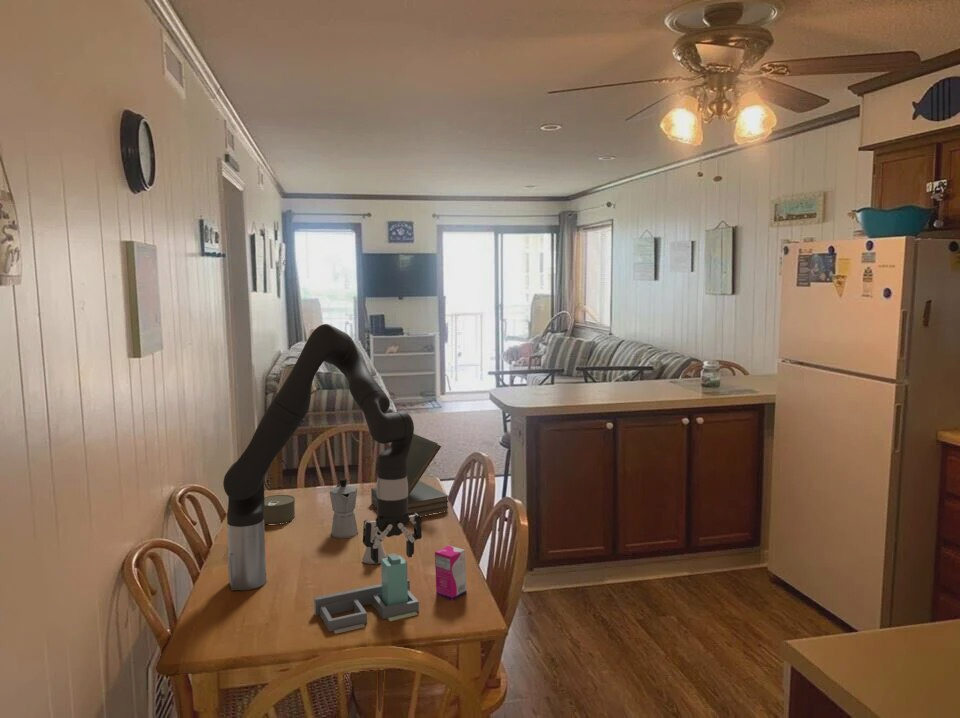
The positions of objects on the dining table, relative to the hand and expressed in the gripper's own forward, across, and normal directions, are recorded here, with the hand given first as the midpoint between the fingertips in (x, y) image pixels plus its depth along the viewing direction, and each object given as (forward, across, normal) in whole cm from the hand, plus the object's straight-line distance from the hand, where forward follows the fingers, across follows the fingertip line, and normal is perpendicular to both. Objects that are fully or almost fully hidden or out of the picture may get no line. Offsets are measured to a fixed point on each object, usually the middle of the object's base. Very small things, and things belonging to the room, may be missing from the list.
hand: (392, 559), depth 167 cm
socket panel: (+13, -6, 0) cm, 14 cm away
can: (+13, -15, +80) cm, 83 cm away
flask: (+13, +5, +31) cm, 34 cm away
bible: (+13, +30, +71) cm, 78 cm away
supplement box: (+13, +16, +2) cm, 21 cm away
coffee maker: (+13, +2, +57) cm, 59 cm away
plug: (+13, +1, 0) cm, 13 cm away
